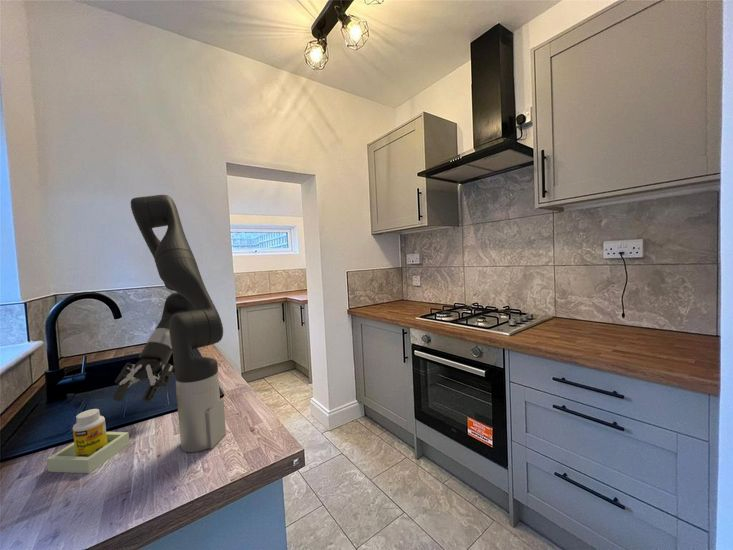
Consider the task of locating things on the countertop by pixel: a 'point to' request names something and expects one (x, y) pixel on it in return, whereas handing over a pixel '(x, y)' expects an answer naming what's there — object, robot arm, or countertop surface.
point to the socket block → (72, 464)
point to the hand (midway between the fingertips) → (131, 400)
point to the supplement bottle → (89, 433)
